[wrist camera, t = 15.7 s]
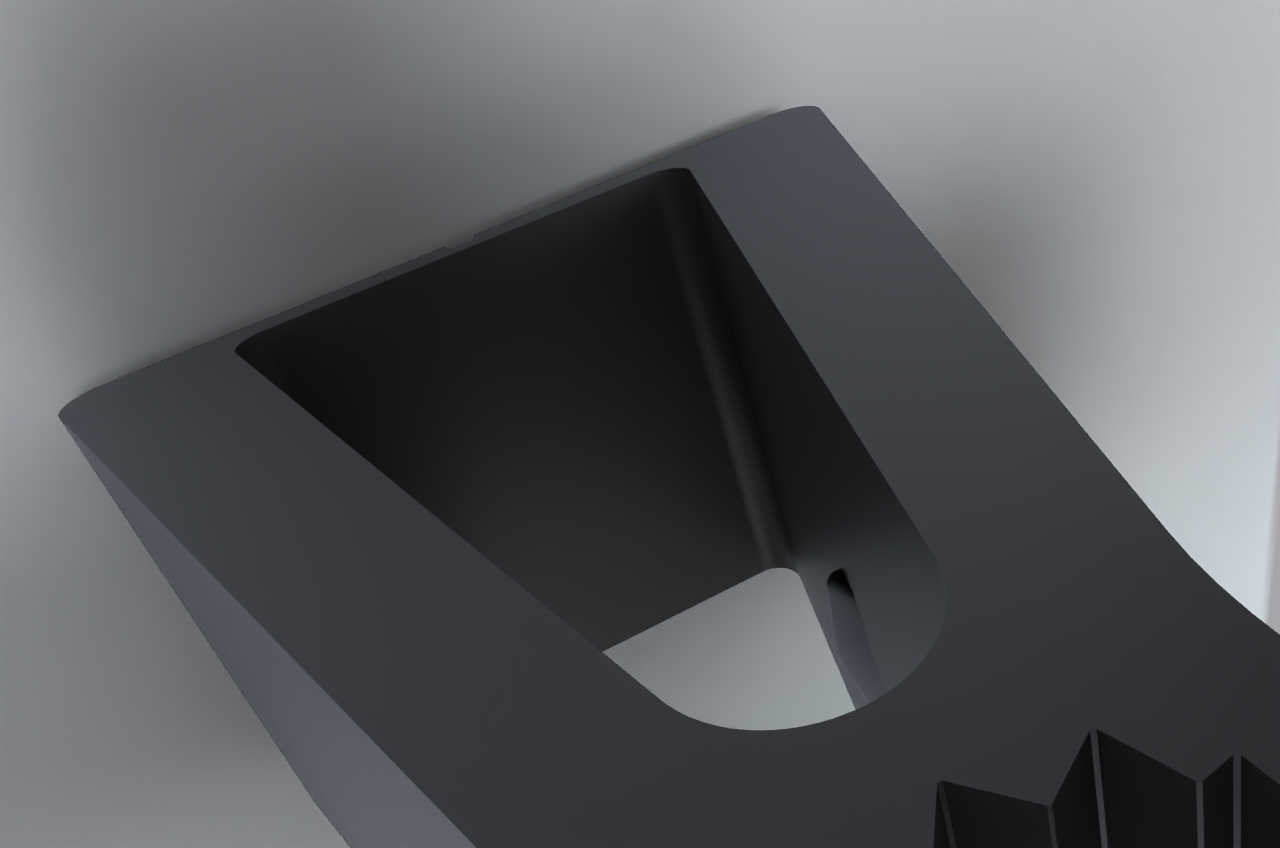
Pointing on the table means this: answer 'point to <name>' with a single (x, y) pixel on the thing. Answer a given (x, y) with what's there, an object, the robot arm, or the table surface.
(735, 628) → the table surface
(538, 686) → the phone stand
